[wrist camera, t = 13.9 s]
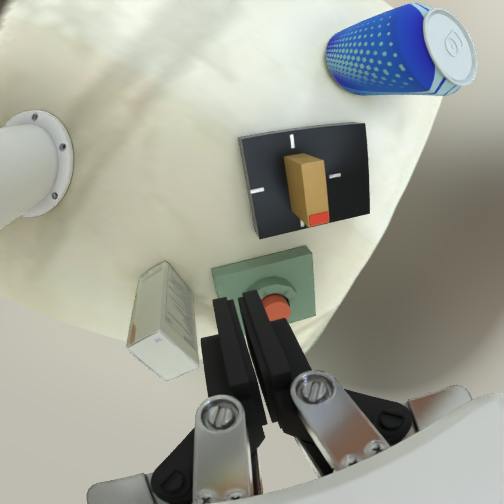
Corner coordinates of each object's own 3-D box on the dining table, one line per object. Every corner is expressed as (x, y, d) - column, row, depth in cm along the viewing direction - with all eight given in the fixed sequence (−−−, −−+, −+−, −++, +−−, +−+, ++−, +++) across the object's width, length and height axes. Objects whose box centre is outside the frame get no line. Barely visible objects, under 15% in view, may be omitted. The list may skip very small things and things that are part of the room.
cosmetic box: (138, 276, 33) (121, 346, 22) (166, 258, 33) (157, 327, 22) (169, 311, 36) (166, 384, 25) (195, 296, 36) (201, 368, 25)
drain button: (260, 320, 35) (263, 329, 33) (255, 298, 33) (258, 306, 32) (287, 313, 35) (292, 321, 34) (285, 290, 34) (289, 298, 32)
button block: (229, 328, 39) (233, 348, 36) (211, 268, 35) (214, 286, 31) (310, 306, 40) (320, 323, 37) (305, 245, 36) (317, 260, 32)
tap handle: (283, 156, 28) (301, 164, 23) (303, 152, 28) (325, 160, 23) (291, 210, 30) (309, 228, 26) (310, 206, 31) (330, 223, 26)
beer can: (385, 94, 29) (488, 101, 14) (328, 97, 28) (428, 94, 14) (373, 34, 25) (470, 12, 10) (313, 31, 24) (402, -14, 10)
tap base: (254, 231, 33) (259, 240, 31) (236, 137, 28) (240, 139, 26) (359, 207, 35) (370, 214, 32) (354, 122, 30) (366, 123, 27)
